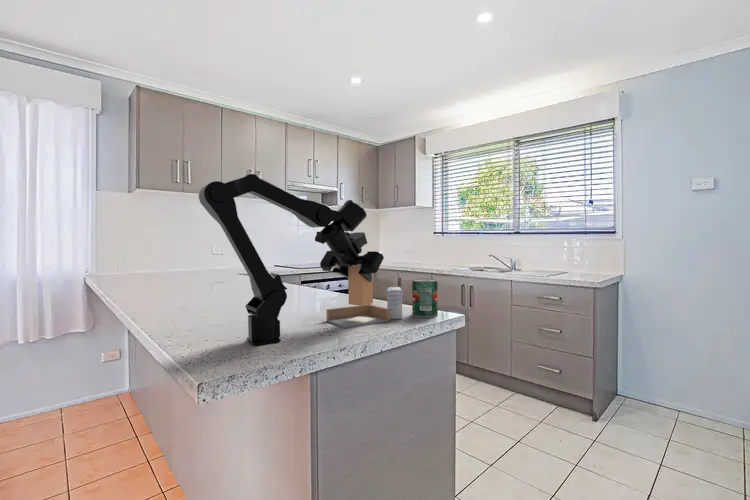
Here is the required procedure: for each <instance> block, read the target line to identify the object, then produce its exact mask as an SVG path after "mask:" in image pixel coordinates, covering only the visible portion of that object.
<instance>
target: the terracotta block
mask: <svg viewBox="0 0 750 500" xmlns="http://www.w3.org/2000/svg"><path fill="white" fill-rule="evenodd" d="M360 269H361V266H360V264H358V265H357V266H348V278H347V279H348V281H347V283H348V285H347V286H348V305H352V306H358V305H360V306H364V305H368V304H372V305H373V304H374V293H373V292H374V290H373V288H374V285H373V283H374V282H373V278H374V275H373V274H374V273H371V274H372V281H371V282H369V281H367V280H366V279H365V278H363V277H362V276H361V275H360V274H358V272H359V271H360Z"/></svg>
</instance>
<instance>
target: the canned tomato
mask: <svg viewBox="0 0 750 500" xmlns="http://www.w3.org/2000/svg"><path fill="white" fill-rule="evenodd" d="M438 282H439V281H438V279H436V278H413V279H411V287H412V288H411V293H412V298H411V307H412V309H411V311H412V312H411V313H412V314H411V315H412V317H416V318H434V317H435V318H436V317H437V316H438V315H439V314H438V311H439V310H438V306H439V303H438V302H439V299H438V297H439V296H438V294H439V293H438Z"/></svg>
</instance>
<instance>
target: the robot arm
mask: <svg viewBox="0 0 750 500" xmlns="http://www.w3.org/2000/svg"><path fill="white" fill-rule="evenodd" d="M245 194H251V195H253V196H255V197H258V198H260V199H262V200H264V201H266V202H268V203H270V204H272V205H274V206H277V207H278V208H280V209H283V210H285V211H287V212H289V213H291V214H292V215H294V216H295V217H296V218H297V219H298V220H299V221H301V222H302V223H303V224H305V225H306V226H308V227H310V228H322V229H321V230H320V231H316V235H315V238H314V241H315V242H316V243H319V244H322V245H324V244H326V245H327V246H328V248H329V249H330V250H327V251H326V252H325V254H324V256H323V257H322V259H321V260H320V262H319V266H320V268H321V269H322V271H323V272H332V273H333V274H338V275H339V276H342V277H344V278H347V279H348V266H357V265H358V264H360V266H361V269H360V271H359V272H358V274H360V275H361V276H362V277H363V278H365V279H366V280H367V281H369V282H371V281H372V274H371V273H373V274H376V273H377V272H378V271H379V269H380V266H381V264H382V263H383V261H384V259H385V257H384V255H383V253H382V251H381V250H380V251H377V250H375V251H374V250H373V251H367V252H366V253H365V254H363V255H359V254H362V251H363V249H362V247H364V246H365V245H367V244H368V239H367V237H366V236H367V235H366V233H365V232H364V231H363V232H358V231H357V232H354V231H355V229H356V228H358V227H359V225H360V224H361V223H362V222H363V221H364V220H365V219H366V218H367V213H366V211H365V209H364V208H363V207H362V206H360V205H359V204H357V203H355V202H354V201H353V200H352V199H347V200H346V201H345V202H344V203H343V205H342V206H341V207H340V208H339V209H338V210H334V209H332V208H331V207H330V206H329V205H327V204H324V203H323V202H322V203H321V202H318V201H313V200H309V199H304V198H301V197H299V196H297V195H295V194H293V193H291V192H289V191H287V190H285V189H283V188H282V187H279V186H277V185H274V184H273V183H271V182H269V181H268V180H265V179H263V178H261V177H259V176H258V175H257V174H254V173H249V174H247V175H245V176H243V177H240V178H236V179H234V180H230V181H228V182H222V181H216V180H215V181H212V182H209V183H207V184H206V185H204V186H203V187H201V189H200V190H199V193H198V200H199V203H200V204H201V206H202V207H203V209H205V210H206V212H207V213H208V214H209V215H210V216H211V217H212V218H213V219H214V221H216V222H217V223H218V224H219V226H220V227H221V229H222V231H223V232H224V234H225V237H226V238H227V240H228V241H229V243H230V245H231V247H232V248H233V250H234V252H235V254H236V256H237V257H238V259H239V260H240V262H241V264H242V266H243V268H244V270H245V272H246V273H247V275H248V277H249V281H250V282H249V283H250V286H251V291H252V293H253V297H252V298H251V299H250V300H249V301H248V303H246V305H245V309H246V311H247V313H248V314H249V315H248V314H247V315H248V316H247V321H248V322H247V325H248V326H247V327H248V331H247V332H248V335H247V336H248V337H246V341H247V342H249V343H250V345H252V346H259V345H266V344H271V343H278V342H281V338H280V337H281V320H280V319H278V317H279V315H280V312H281V309H282V307H284V305H285V303H286V302H287V298H288V295H287V291H286V290H288V287H286V286H285V285H284V283H283V280H282V278H281V276H280V274H278V273H274V272H269V270H267V268H266V266H265V264H264V263H263V261H262V258H261V257H260V255H259V253H258V251H257V249H256V248H255V246H254V244H253V242H252V240H251V239H250V236H249V234H248V233H247V230H246V228H245V227H244V225H243V224H242V222H241V220H240V218H239V215H238V209H237V205H236V200H235V198H237V197H238V198H239V196H243V195H245Z"/></svg>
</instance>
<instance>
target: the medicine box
mask: <svg viewBox="0 0 750 500" xmlns="http://www.w3.org/2000/svg"><path fill="white" fill-rule="evenodd" d="M386 298H387V299H386V301H387V304H386V305H387V307H386V308H387V309H390V320H402V319H403V291H402V288H401V286H390V287H387V288H386Z"/></svg>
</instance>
